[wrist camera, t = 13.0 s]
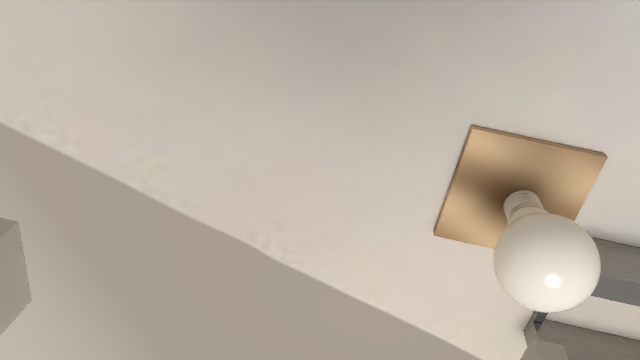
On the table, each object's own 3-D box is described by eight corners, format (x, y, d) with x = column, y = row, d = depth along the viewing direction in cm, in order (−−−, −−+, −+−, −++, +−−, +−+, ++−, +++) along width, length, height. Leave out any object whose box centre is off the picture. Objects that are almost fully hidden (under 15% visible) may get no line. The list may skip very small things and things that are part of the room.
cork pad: (471, 125, 38) (472, 128, 37) (604, 153, 37) (607, 157, 37) (433, 231, 43) (434, 235, 42) (550, 257, 42) (552, 261, 42)
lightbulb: (564, 159, 37) (620, 247, 28) (562, 230, 40) (613, 332, 31) (475, 169, 39) (500, 256, 29) (479, 237, 42) (504, 336, 32)
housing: (576, 234, 41) (596, 274, 37) (724, 266, 41) (762, 310, 36) (523, 331, 47) (535, 376, 43) (652, 361, 46) (678, 408, 42)
